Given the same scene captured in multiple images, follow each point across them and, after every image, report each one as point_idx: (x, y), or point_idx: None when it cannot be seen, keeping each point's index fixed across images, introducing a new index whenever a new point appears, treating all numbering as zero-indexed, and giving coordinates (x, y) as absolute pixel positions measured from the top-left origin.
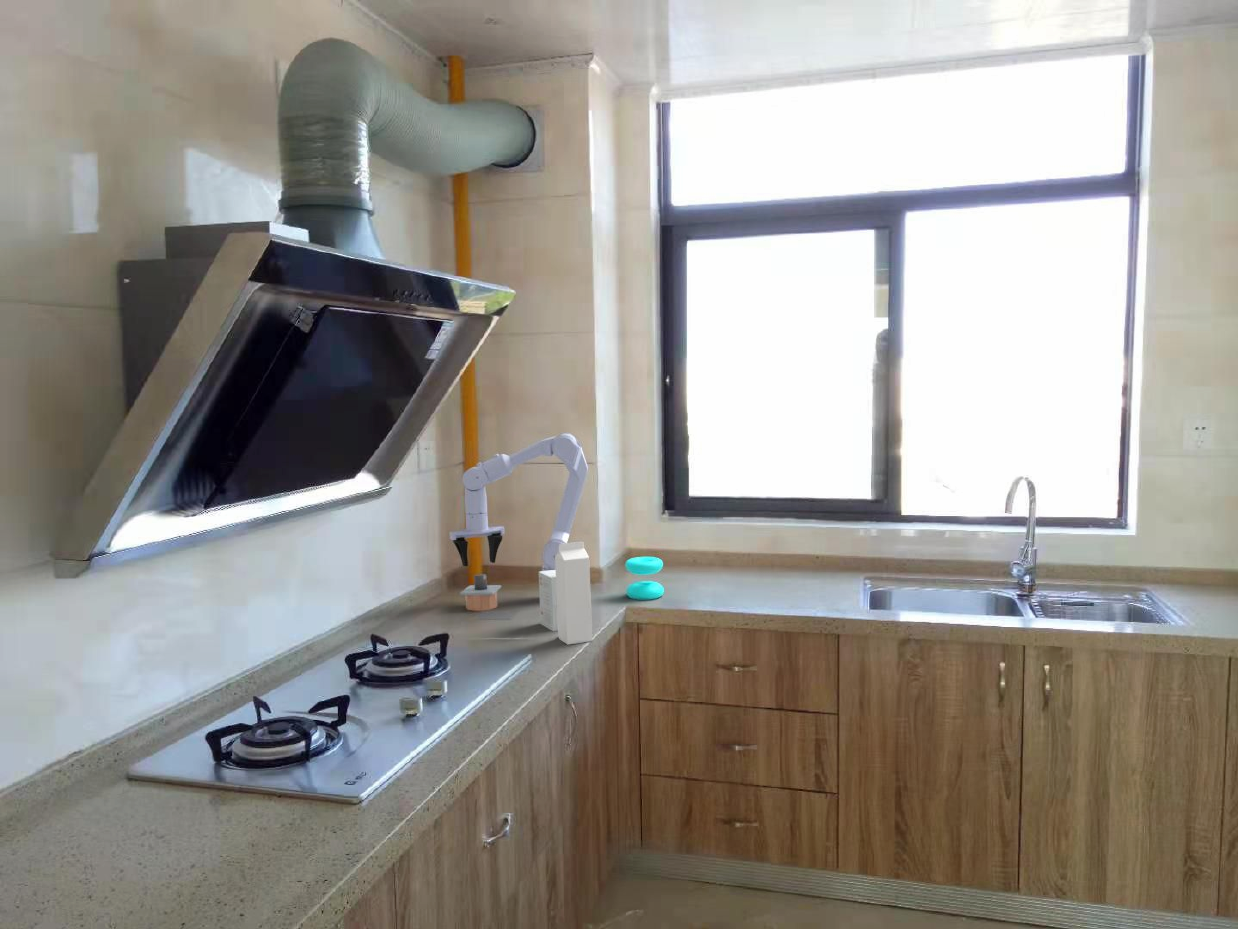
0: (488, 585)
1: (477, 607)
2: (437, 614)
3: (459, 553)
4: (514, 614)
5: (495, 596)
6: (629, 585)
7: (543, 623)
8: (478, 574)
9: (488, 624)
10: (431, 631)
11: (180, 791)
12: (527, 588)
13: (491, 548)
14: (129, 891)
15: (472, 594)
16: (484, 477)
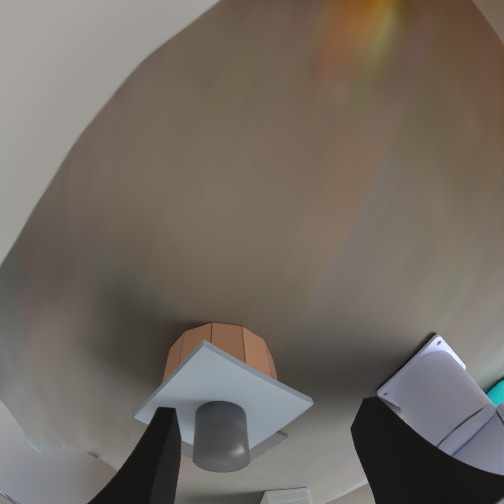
0: (272, 389)
1: None
2: (79, 345)
3: (122, 472)
4: (259, 453)
5: None
6: (496, 405)
7: (263, 501)
8: (221, 448)
9: (183, 464)
10: (71, 437)
11: (3, 497)
12: (471, 193)
13: (392, 484)
14: None
15: None
16: None
